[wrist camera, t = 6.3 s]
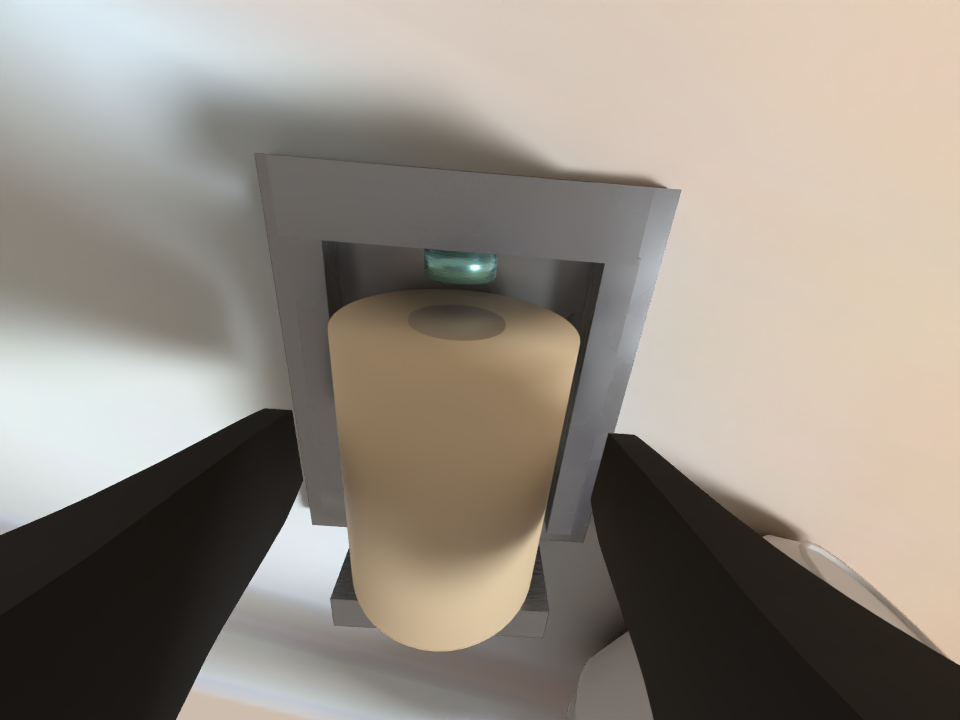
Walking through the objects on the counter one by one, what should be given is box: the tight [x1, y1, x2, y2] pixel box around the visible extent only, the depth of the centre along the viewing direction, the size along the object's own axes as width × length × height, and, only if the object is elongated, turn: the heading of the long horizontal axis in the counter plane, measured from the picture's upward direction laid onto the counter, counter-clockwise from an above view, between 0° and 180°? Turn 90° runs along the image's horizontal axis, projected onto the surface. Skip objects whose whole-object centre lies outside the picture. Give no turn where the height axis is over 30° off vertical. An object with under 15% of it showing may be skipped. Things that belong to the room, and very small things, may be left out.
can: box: [567, 535, 949, 720], centre depth 13 cm, size 8×8×12 cm
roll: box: [328, 289, 580, 651], centre depth 9 cm, size 7×5×5 cm
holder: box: [255, 153, 681, 638], centre depth 10 cm, size 10×12×4 cm
